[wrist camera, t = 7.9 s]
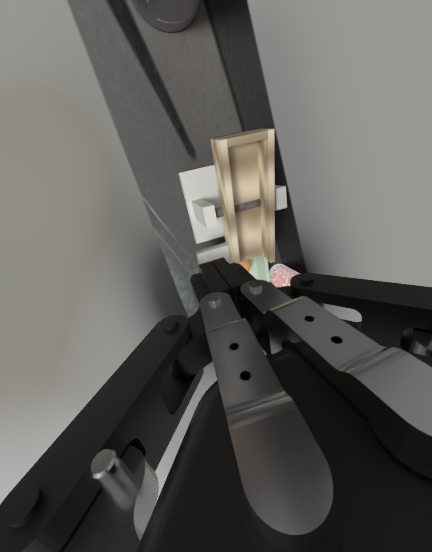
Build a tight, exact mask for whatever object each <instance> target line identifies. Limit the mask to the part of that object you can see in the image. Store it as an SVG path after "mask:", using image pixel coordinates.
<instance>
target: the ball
mask: <svg viewBox="0 0 432 552" xmlns="http://www.w3.org/2000/svg"><path fill="white" fill-rule="evenodd" d="M240 264H241V265H242V266H243V267H244V268H245V269H246V270H247V271H248V272H249V271H250V269H251V263H250V260H249V259H248V260H245V261H242V262H240Z"/></svg>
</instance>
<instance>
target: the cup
mask: <svg viewBox="0 0 432 552" xmlns="http://www.w3.org/2000/svg"><path fill="white" fill-rule="evenodd" d="M249 260H250V263H251V269H250V271H249V273H250V274H251V275H252V276H253V277H254V278H255V279H256V280H265V281H268V282H269V283H270V279H269V269H268V260H267V259H266V258H265V257H264V256H263V255H261V256H258V257H255V258H251V259H249Z"/></svg>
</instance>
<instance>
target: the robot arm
mask: <svg viewBox="0 0 432 552" xmlns="http://www.w3.org/2000/svg"><path fill="white" fill-rule="evenodd" d="M132 2H133V4H134V5H135V7H136V9H137V11H138V12H139V13H140V14H141V16H142V17H143V18H144V19H145V20H146V21H147V22H148V23H149V24H151V25H152V26H153V27H155V28H157V29H159V30H162V31H165V32H177V31H180V30H182V29H184V28H185V27H187V26H188V25H189V24H190V23H191V21H192V20H193V18H194V16H195V15H196V13H197V9H198V6H199V3H200V0H132ZM198 268H199V272H200V273H198V274H195V275H192V276H191V279H190V282H191V286H192V289H193V293H194V296H195V300H196V303H197V306H198V308H199V309H198V311H197V312H196V313H195V314H194V315H192V316H191V317H189V318H188V319H187V318H186V317H185V316H182V315H173V316H169V317H166V318H164V319H163V320H161V321H160V322H159V323H157V324H156V326H155V327H154V328H153V329H152V330H151V331H150V332H149V334H148V335H147V336H146V337H145V338H144V339H143V341H142V342H141V343H140V344H139V345H138V346H137V347H136V349H135V350H134V351H133V352H132V353H131V354H130V355H129V357H128V358H127V359H126V360H125V361H124V362H123V363H122V365H121V366H120V367H119V368H118V370H116V372H115V373H114V374H113V375H112V376H111V377H110V378H109V379H108V381H107V382H106V383H105V384H104V385H103V386H102V388H101V389H100V390H99V391H98V392H97V393H96V395H95V396H94V397H93V398H92V399H91V400H90V401H89V402H88V404H87V405H86V406H85V407H84V408H83V409H82V411H81V412H80V413H79V414H78V415H77V416H76V418H74V420H73V421H72V422H71V423H70V424H69V425H68V427H67V428H66V429H65V430H64V431H63V432H62V433H61V435H60V436H59V437H58V438H57V439H56V440H55V441H54V443H53V444H52V445H51V446H50V447H49V448H48V450H47V451H46V452H45V453H44V454H43V455H42V456H41V458H40V459H39V460H38V461H37V462H36V463H35V464H34V466H33V467H32V468H31V469H30V470H29V471H28V472H27V474H26V475H25V476H24V477H23V478H22V479H21V480H20V482H19V483H18V484H17V485H16V486H15V487H14V488H13V490H12V491H11V492H10V493H9V494H8V495H7V497H6V498H5V499H4V501H3V502H2V503H1V505H0V552H432V287H424V286H415V285H407V284H398V283H390V282H381V281H373V280H365V279H356V278H348V277H340V276H331V275H323V274H314V273H301V274H297V275H295V276H293V277H292V278H291V279H290V286H283V287H275V286H274V285H272V284H271V283H269V282H268V281H265V280H256V279H255V278H254V277H253V276H252V275H251V274H250V273H249V272H248V271H247V270H246V269H245V268H244V267H243V266H242V265H241V264H238V263H235V262H234V263H231V264H229V263H228V262H227V261H226V260H225V258H224V257H222V258H219V259H215V260H212V261H209V262H206V263H202V264H199V265H198ZM324 303H325V304H330V305H336V306H341V307H346V308H351V309H355V310H357V311H358V312H359V313H360V314H361V316H362V321H361V322H352V321H348V320H343V319H340V318H338V317H337V316H335V315H333V314H332V313H331V312H329V311H328V310H326V309H324ZM212 361H213V363H214V367H215V372H216V376H217V381H216V382H215V383H214V384H212V386H211V387H210V388H209V389H208V390H207V391H206V392H205V394H204V395H203V397H202V398H201V400H200V402H199V403H198V405H197V408H196V410H195V412H194V415H193V417H192V419H191V422H190V424H189V427H188V429H187V431H186V434H185V436H184V438H183V441H182V443H181V446H180V448H179V450H178V453H177V455H176V457H175V460H174V462H173V465H172V467H171V469H170V472H169V474H168V476H167V479H166V481H165V484H164V486H163V488H162V491H161V493H160V496H159V498H158V500H157V497H158V478H157V476H156V474H155V471H156V469H157V467H158V464H159V462H160V460H161V458H162V456H163V454H164V452H165V450H166V448H167V446H168V444H169V442H170V440H171V438H172V436H173V434H174V432H175V430H176V428H177V426H178V424H179V422H180V420H181V418H182V416H183V414H184V412H185V410H186V408H187V406H188V404H189V402H190V400H191V398H192V396H193V394H194V392H195V390H196V388H197V386H198V384H199V382H200V380H201V377H202V375H203V368H204V367H205V366H207V365H208V364H209V363H211V362H212ZM156 501H157V503H156ZM155 504H156V505H155Z"/></svg>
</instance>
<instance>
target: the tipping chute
mask: <svg viewBox="0 0 432 552" xmlns="http://www.w3.org/2000/svg"><path fill="white" fill-rule="evenodd" d="M211 145H212V152H213V159H214V166H215V173H216V180H217V186H218V193H219V200H220V207H218V208H215V213H216V218H219V217H222V221H223V228H224V234H225V241H226V242H224V243H221V244H217V245H214V246H210V247H207V248H203V249H200V250H197V251H196V255H197V259H198V263H199V264H202V263H206V262H209V261H212V260H215V259H219V258H222V257H224V258H225V260H226V261H227V262H228V263H229V264H231V263H234V262H235V263H238V264H240V262H242V261H245V260H248V259H251V258H255V257H258V256H261V255H263V256H264V257H265V258H266V259H267V260H268V261H269V262H270V263H272V262H275V171H274V129H257V130H248V131H244V132H239V133H234V134H229V135H225V136H220V137H215V138H214V139H211Z"/></svg>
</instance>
